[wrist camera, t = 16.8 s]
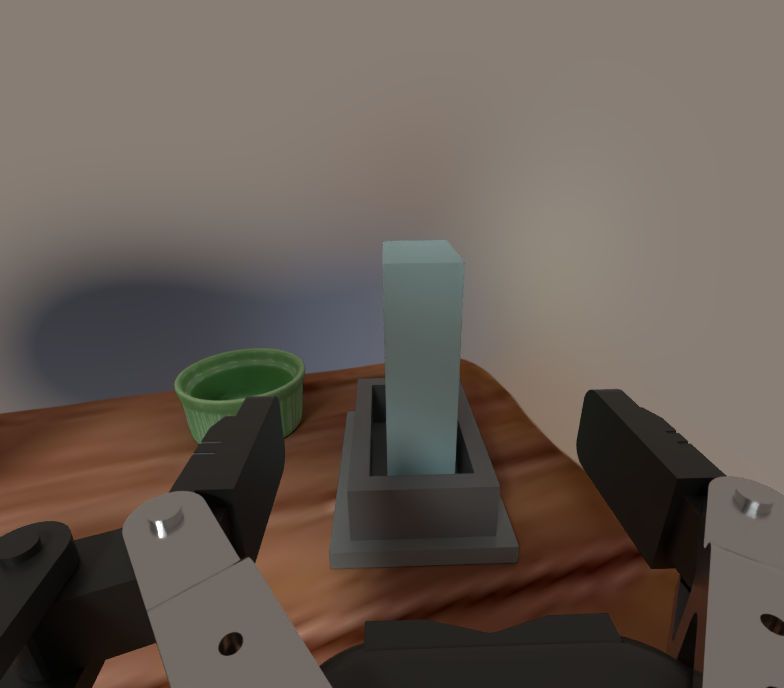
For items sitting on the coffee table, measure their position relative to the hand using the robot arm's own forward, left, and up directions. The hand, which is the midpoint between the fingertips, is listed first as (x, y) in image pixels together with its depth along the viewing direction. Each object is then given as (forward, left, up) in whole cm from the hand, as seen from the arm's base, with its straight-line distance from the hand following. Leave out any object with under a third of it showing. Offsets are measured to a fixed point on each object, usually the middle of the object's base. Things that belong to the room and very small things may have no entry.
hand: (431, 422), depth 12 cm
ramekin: (-11, +19, -12) cm, 25 cm away
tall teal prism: (+1, +12, -11) cm, 16 cm away
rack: (+1, +12, -12) cm, 17 cm away
